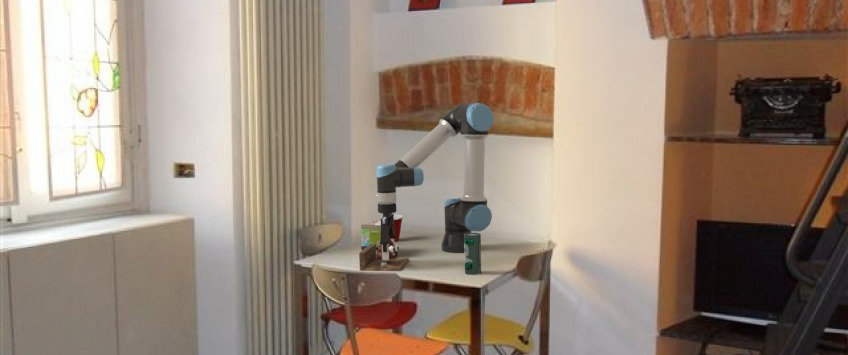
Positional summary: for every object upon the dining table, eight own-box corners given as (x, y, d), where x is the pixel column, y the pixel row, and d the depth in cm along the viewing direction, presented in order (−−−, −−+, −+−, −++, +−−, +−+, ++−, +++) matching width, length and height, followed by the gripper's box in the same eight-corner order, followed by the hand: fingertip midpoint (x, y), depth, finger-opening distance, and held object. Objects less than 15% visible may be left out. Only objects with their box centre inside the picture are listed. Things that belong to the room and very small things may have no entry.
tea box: (383, 259, 316) (382, 224, 314) (361, 258, 318) (359, 224, 316) (392, 251, 330) (391, 218, 329) (370, 251, 332) (369, 218, 331)
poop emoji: (385, 254, 309) (384, 232, 308) (403, 256, 305) (402, 233, 304) (371, 259, 300) (371, 236, 300) (389, 261, 296) (389, 237, 295)
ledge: (408, 260, 312) (408, 243, 311) (399, 271, 292) (399, 253, 291) (371, 259, 314) (371, 243, 314) (359, 270, 295) (359, 253, 294)
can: (464, 271, 289) (463, 233, 288) (479, 270, 289) (479, 232, 288) (466, 274, 283) (465, 235, 282) (481, 274, 283) (481, 235, 282)
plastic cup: (376, 241, 355) (375, 216, 354) (391, 238, 364) (390, 213, 363) (394, 243, 349) (393, 218, 348) (408, 240, 357) (407, 215, 356)
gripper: (383, 199, 312) (385, 251, 314) (371, 206, 290) (373, 263, 292) (401, 199, 311) (402, 251, 313) (390, 206, 289) (391, 263, 291)
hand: (388, 257), depth 303 cm, fingers closed on poop emoji, 10 cm apart
